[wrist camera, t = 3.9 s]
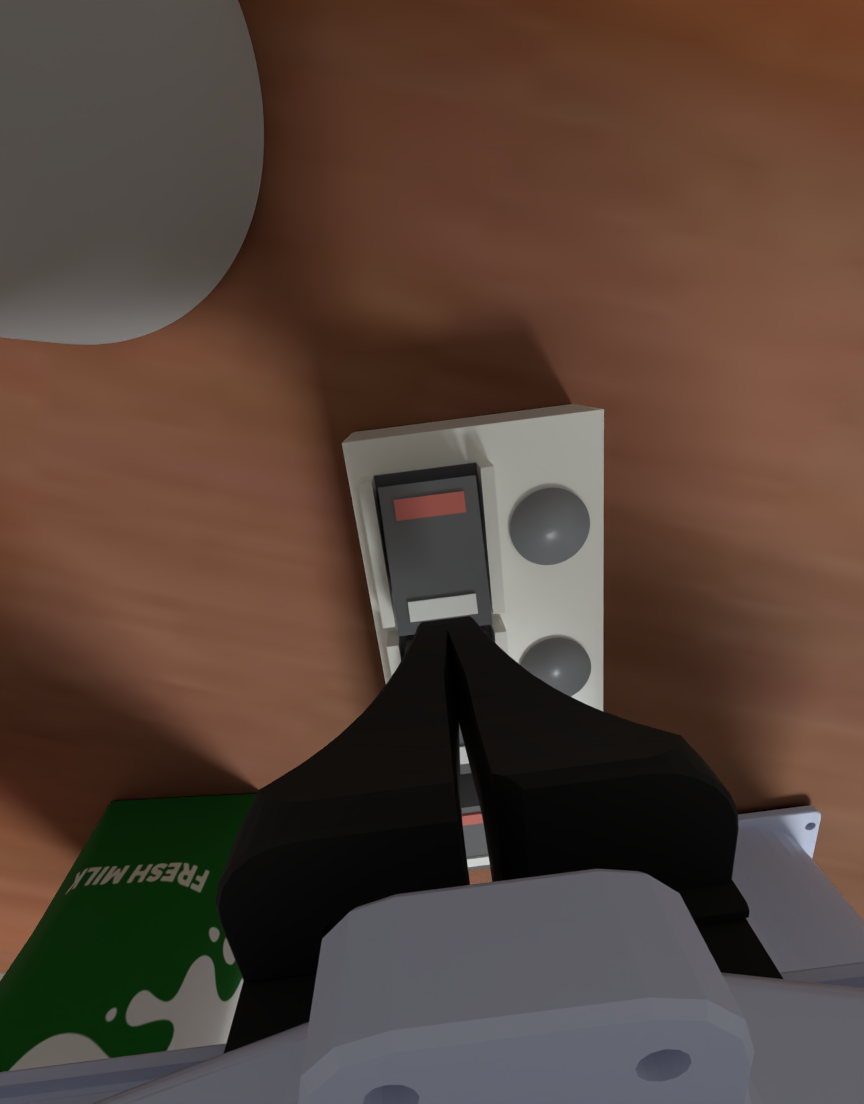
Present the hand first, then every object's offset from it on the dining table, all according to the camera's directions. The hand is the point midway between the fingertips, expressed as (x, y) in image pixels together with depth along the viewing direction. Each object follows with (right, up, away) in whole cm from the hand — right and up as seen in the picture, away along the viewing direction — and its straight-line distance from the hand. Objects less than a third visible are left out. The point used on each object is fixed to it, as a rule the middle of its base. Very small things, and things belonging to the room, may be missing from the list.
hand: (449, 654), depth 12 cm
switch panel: (+2, -3, +9) cm, 10 cm away
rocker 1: (0, +2, +3) cm, 4 cm away
